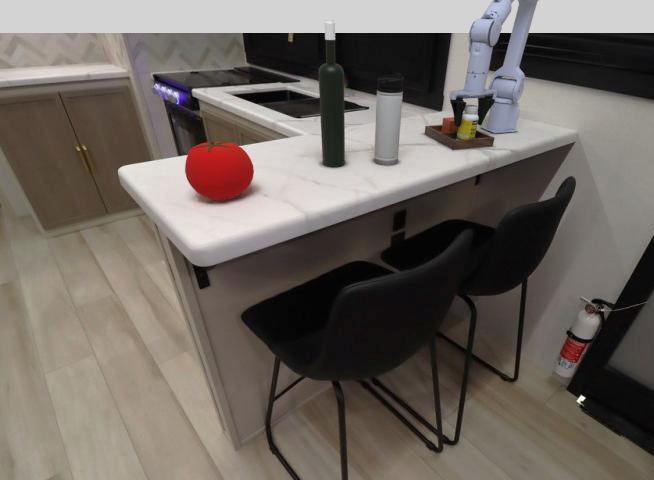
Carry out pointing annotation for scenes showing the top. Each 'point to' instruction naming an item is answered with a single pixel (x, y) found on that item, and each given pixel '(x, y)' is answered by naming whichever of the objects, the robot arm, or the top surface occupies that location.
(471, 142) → the sorting tray
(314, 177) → the top surface
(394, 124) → the travel mug
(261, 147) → the top surface
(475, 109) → the supplement bottle
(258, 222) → the top surface
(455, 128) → the terracotta block
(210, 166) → the tomato
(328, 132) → the wine bottle
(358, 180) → the top surface
